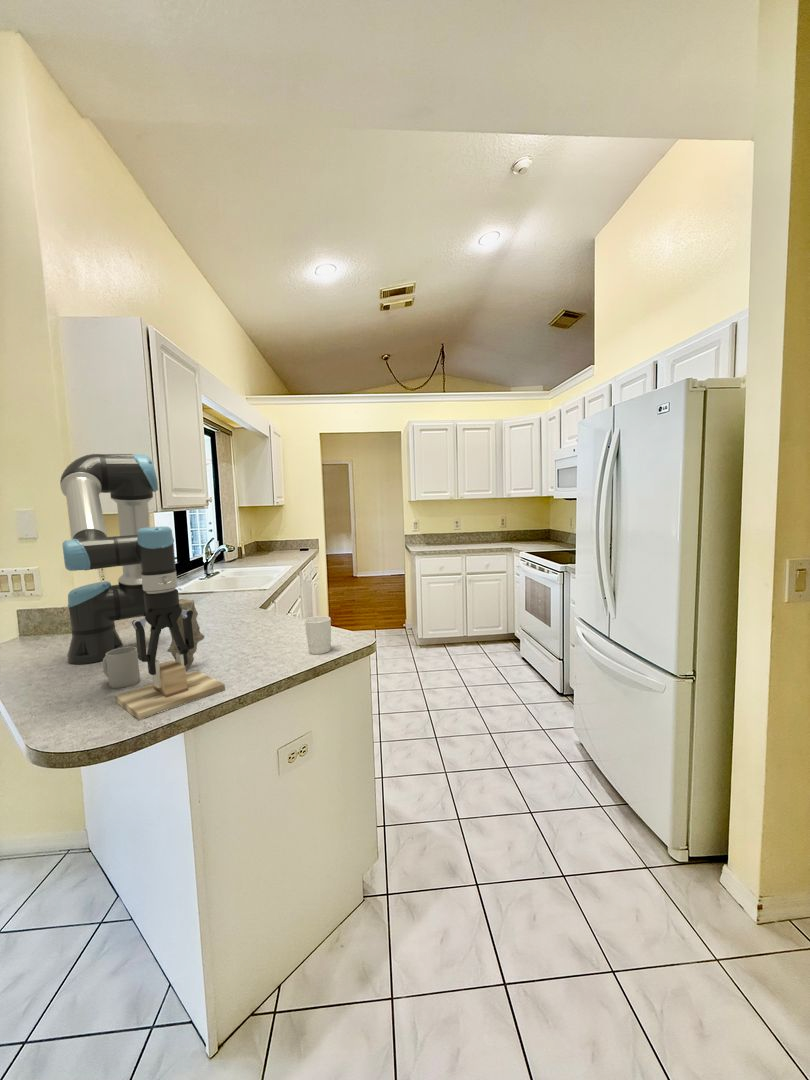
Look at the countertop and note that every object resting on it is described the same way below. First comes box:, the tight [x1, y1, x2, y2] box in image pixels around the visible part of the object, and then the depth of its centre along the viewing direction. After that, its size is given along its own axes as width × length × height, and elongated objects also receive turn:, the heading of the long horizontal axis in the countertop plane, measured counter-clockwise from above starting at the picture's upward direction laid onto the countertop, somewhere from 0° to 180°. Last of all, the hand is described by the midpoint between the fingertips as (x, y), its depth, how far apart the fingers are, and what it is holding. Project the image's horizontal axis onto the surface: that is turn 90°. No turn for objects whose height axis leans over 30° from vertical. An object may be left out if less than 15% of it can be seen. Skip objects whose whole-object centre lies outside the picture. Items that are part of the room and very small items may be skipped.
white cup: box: [304, 615, 332, 655], centre depth 145 cm, size 8×8×10 cm
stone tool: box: [166, 598, 205, 670], centre depth 134 cm, size 12×6×20 cm, turn 150°
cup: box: [101, 646, 141, 689], centre depth 126 cm, size 7×10×9 cm
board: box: [114, 670, 226, 721], centre depth 116 cm, size 16×20×2 cm
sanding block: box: [153, 659, 188, 697], centre depth 116 cm, size 8×5×6 cm, turn 47°
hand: (170, 682), depth 116 cm, fingers closed on sanding block, 5 cm apart
